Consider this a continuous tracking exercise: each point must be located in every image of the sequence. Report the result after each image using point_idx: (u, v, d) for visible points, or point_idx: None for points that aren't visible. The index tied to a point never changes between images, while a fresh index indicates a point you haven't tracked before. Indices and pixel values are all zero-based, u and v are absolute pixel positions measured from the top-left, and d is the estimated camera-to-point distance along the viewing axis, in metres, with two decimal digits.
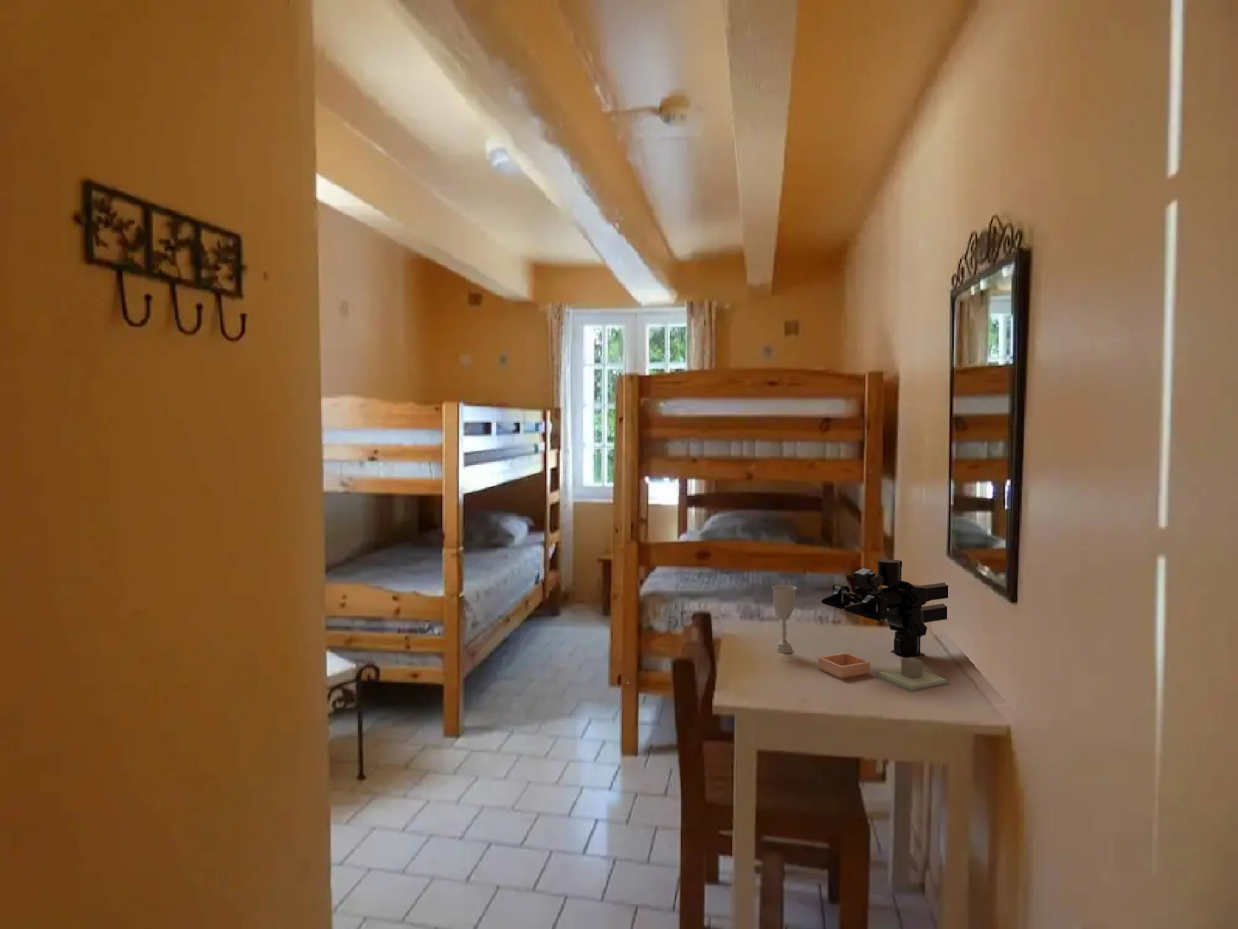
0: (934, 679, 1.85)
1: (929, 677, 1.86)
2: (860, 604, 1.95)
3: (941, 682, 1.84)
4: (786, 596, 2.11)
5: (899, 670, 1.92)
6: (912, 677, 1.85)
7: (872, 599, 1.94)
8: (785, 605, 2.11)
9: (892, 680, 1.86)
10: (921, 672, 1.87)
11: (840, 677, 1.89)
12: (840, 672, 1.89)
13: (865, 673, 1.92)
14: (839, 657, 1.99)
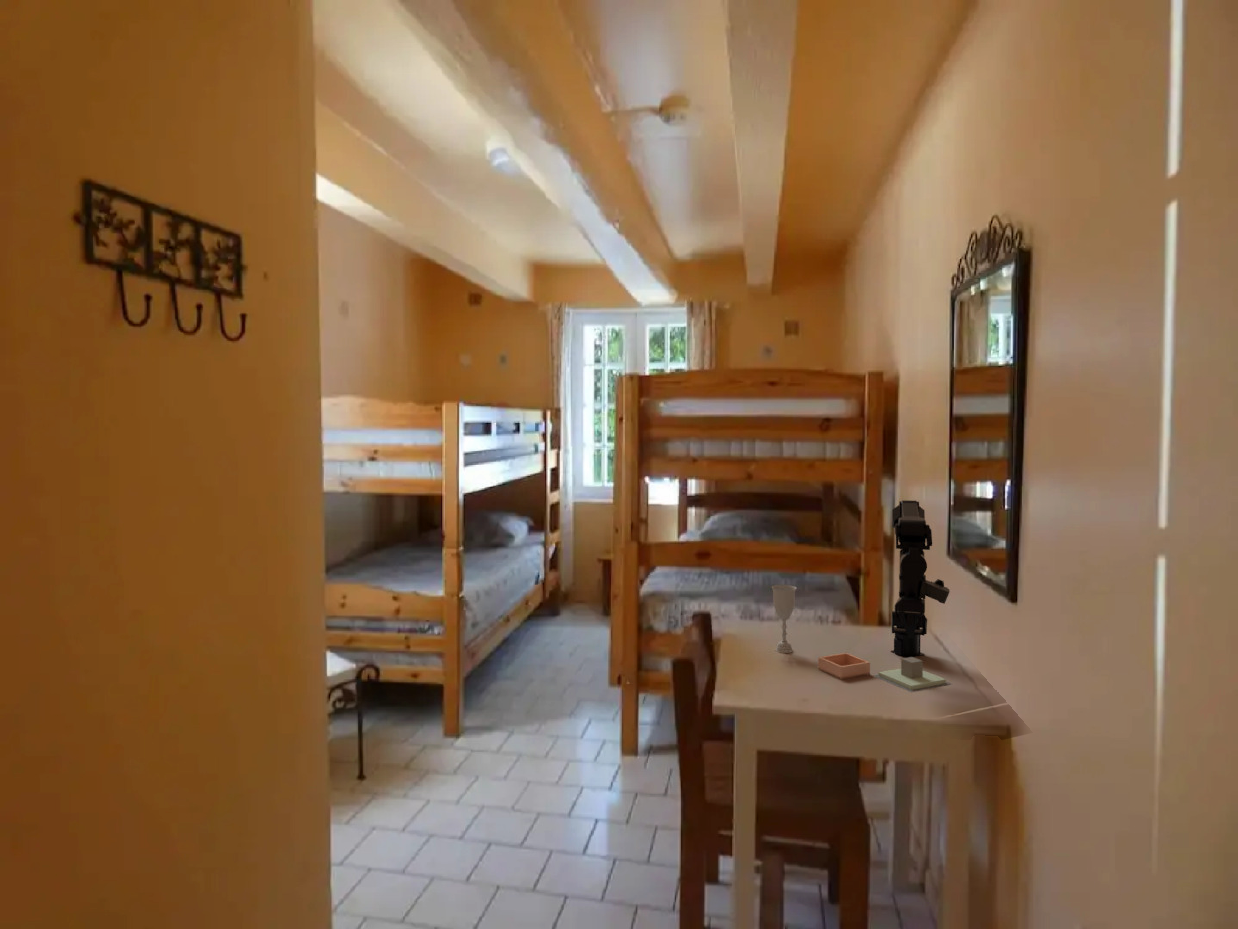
0: (934, 679, 1.85)
1: (929, 677, 1.86)
2: None
3: (941, 682, 1.84)
4: (786, 596, 2.11)
5: (899, 670, 1.92)
6: (912, 677, 1.85)
7: None
8: (785, 605, 2.11)
9: (892, 680, 1.86)
10: (921, 672, 1.87)
11: (840, 677, 1.89)
12: (840, 672, 1.89)
13: (865, 673, 1.92)
14: (839, 657, 1.99)
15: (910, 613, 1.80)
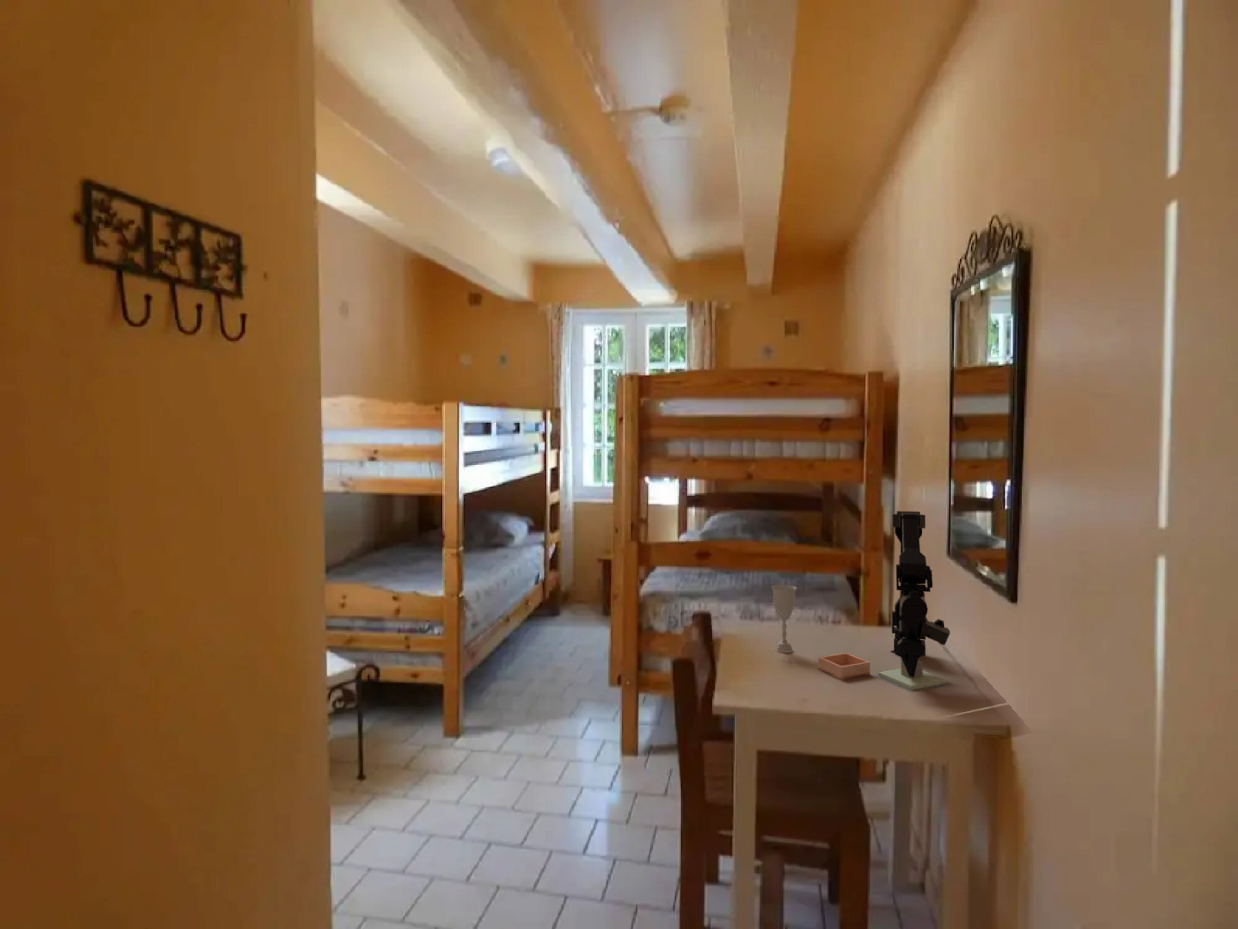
0: (934, 679, 1.85)
1: (929, 677, 1.86)
2: None
3: (941, 682, 1.84)
4: (786, 596, 2.11)
5: (899, 670, 1.92)
6: (912, 677, 1.85)
7: None
8: (785, 605, 2.11)
9: (892, 680, 1.86)
10: (921, 672, 1.87)
11: (840, 677, 1.89)
12: (840, 672, 1.89)
13: (865, 673, 1.92)
14: (839, 657, 1.99)
15: None
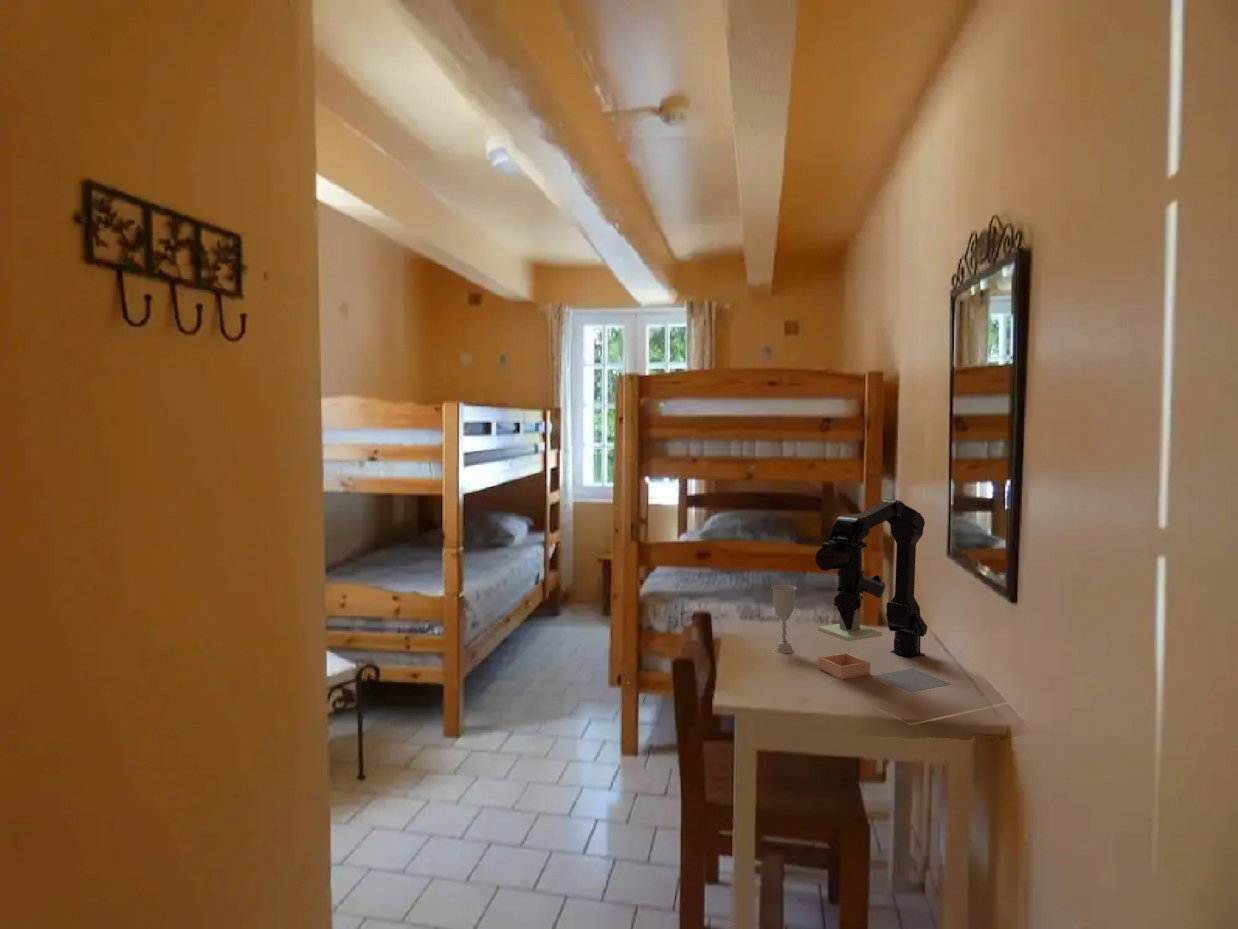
0: (870, 632, 1.90)
1: (866, 631, 1.91)
2: None
3: (877, 635, 1.90)
4: (786, 596, 2.11)
5: (838, 625, 1.97)
6: (849, 630, 1.91)
7: None
8: (785, 605, 2.11)
9: (830, 633, 1.91)
10: (858, 626, 1.92)
11: (840, 677, 1.89)
12: (840, 672, 1.89)
13: (865, 673, 1.92)
14: (839, 657, 1.99)
15: None
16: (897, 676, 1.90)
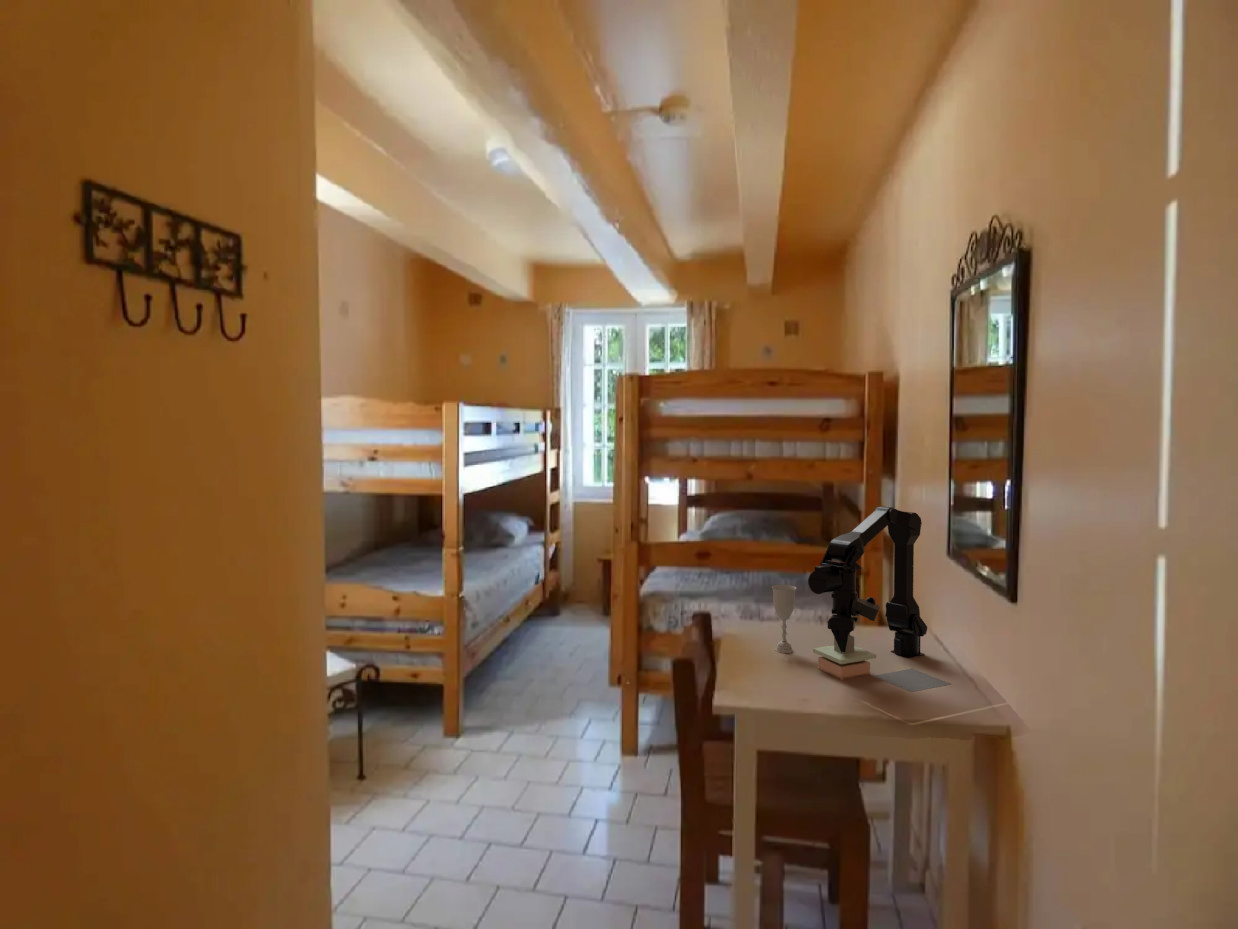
0: (864, 654, 1.92)
1: (860, 653, 1.93)
2: None
3: (871, 657, 1.91)
4: (786, 596, 2.11)
5: (833, 646, 1.98)
6: (844, 652, 1.92)
7: None
8: (785, 605, 2.11)
9: (825, 655, 1.93)
10: (852, 648, 1.93)
11: (840, 677, 1.89)
12: (840, 672, 1.89)
13: (865, 673, 1.92)
14: None
15: None
16: (897, 676, 1.90)
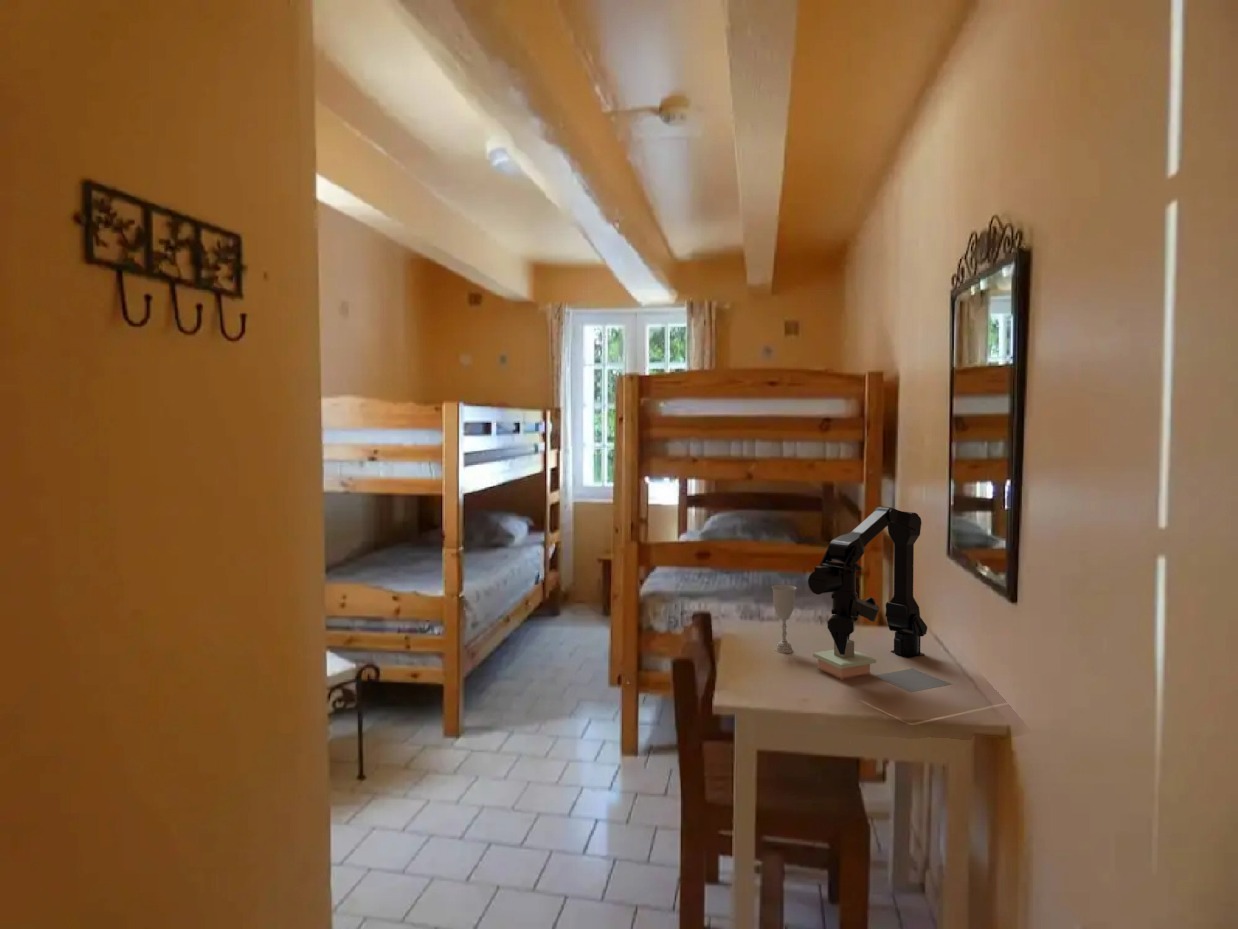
0: (864, 658, 1.92)
1: (860, 657, 1.93)
2: None
3: (871, 662, 1.91)
4: (785, 596, 2.11)
5: (833, 651, 1.99)
6: (844, 657, 1.92)
7: None
8: (785, 605, 2.11)
9: (824, 660, 1.93)
10: (852, 652, 1.93)
11: (840, 677, 1.89)
12: (840, 672, 1.89)
13: (865, 673, 1.92)
14: None
15: (840, 631, 1.87)
16: (897, 676, 1.90)
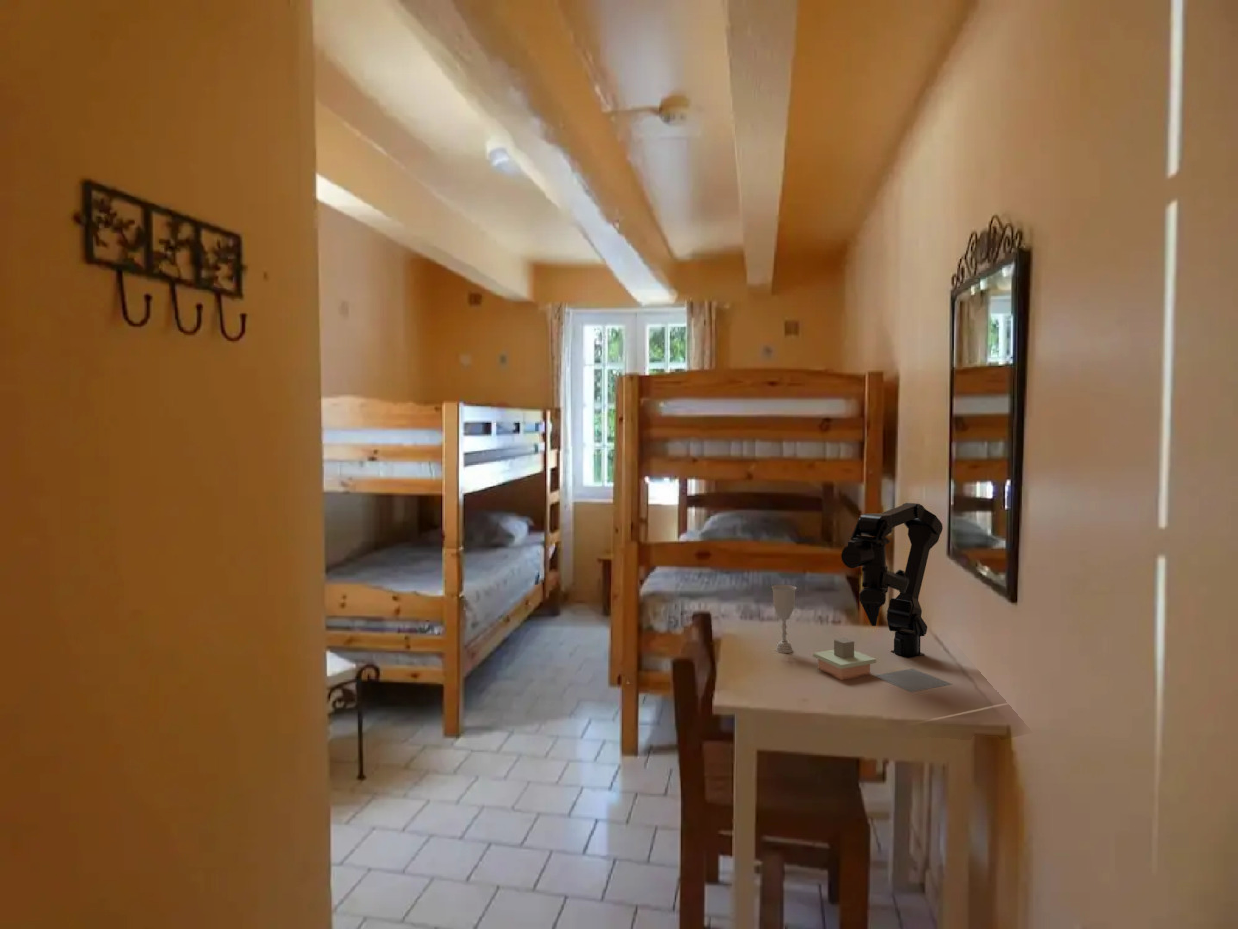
0: (864, 658, 1.92)
1: (860, 657, 1.93)
2: None
3: (871, 662, 1.91)
4: (786, 596, 2.11)
5: (833, 651, 1.99)
6: (844, 657, 1.92)
7: None
8: (785, 605, 2.11)
9: (824, 660, 1.93)
10: (852, 652, 1.93)
11: (840, 677, 1.89)
12: (840, 672, 1.89)
13: (865, 673, 1.92)
14: None
15: (872, 603, 1.91)
16: (897, 676, 1.90)
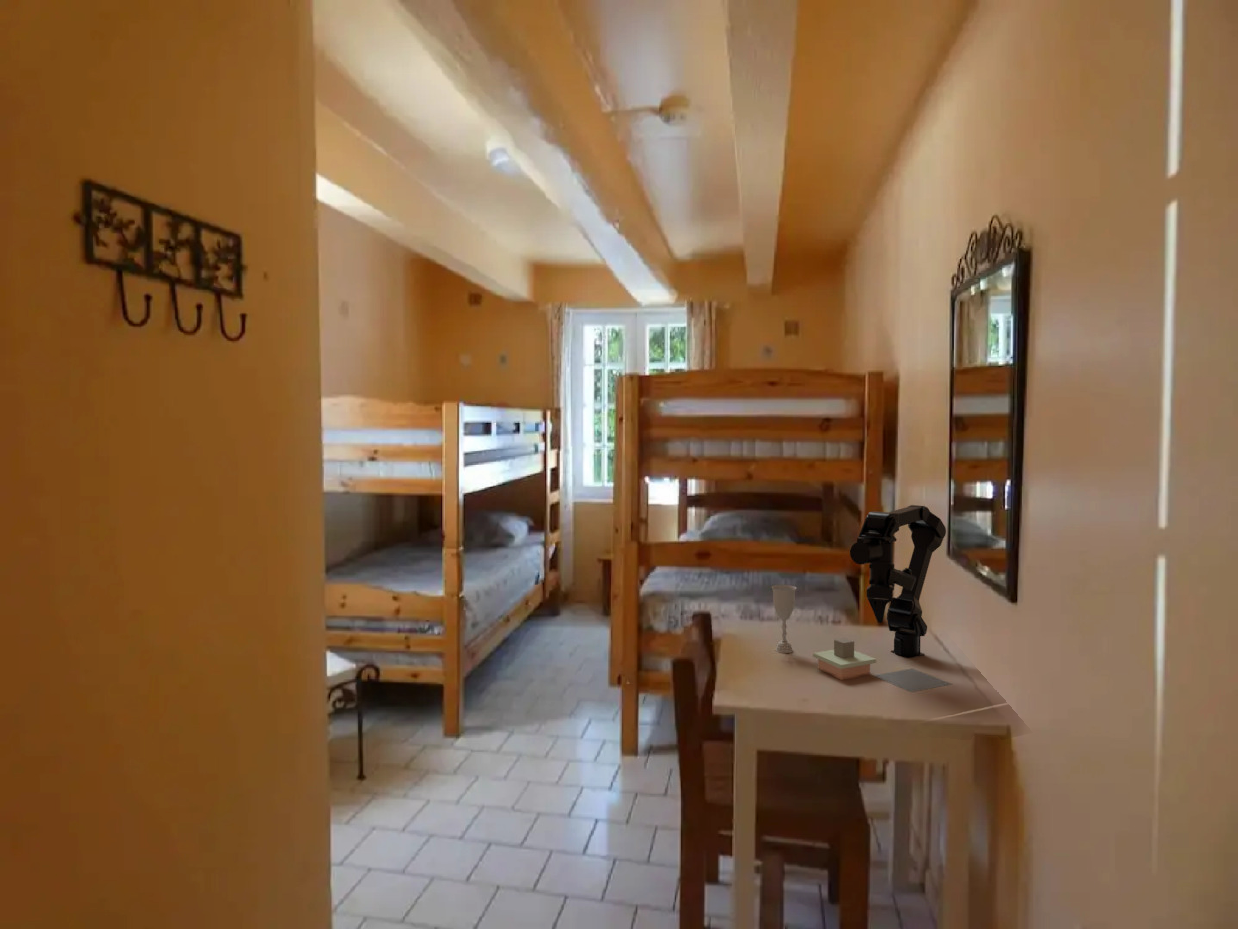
0: (864, 658, 1.92)
1: (860, 657, 1.93)
2: None
3: (871, 662, 1.91)
4: (786, 596, 2.11)
5: (833, 651, 1.99)
6: (844, 657, 1.92)
7: None
8: (785, 605, 2.11)
9: (824, 660, 1.93)
10: (852, 652, 1.93)
11: (840, 677, 1.89)
12: (840, 672, 1.89)
13: (865, 673, 1.92)
14: None
15: (879, 599, 1.92)
16: (897, 676, 1.90)
